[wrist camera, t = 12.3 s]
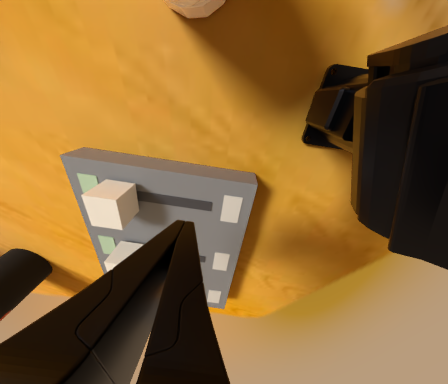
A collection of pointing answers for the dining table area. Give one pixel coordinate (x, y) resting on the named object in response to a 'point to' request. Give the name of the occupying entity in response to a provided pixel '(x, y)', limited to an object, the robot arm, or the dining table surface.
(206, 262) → the grey slider switch panel
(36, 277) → the wine bottle
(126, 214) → the block
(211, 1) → the white cup
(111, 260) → the block
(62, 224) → the dining table surface
